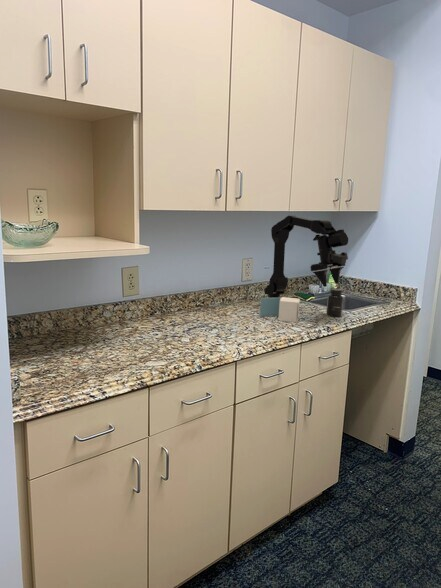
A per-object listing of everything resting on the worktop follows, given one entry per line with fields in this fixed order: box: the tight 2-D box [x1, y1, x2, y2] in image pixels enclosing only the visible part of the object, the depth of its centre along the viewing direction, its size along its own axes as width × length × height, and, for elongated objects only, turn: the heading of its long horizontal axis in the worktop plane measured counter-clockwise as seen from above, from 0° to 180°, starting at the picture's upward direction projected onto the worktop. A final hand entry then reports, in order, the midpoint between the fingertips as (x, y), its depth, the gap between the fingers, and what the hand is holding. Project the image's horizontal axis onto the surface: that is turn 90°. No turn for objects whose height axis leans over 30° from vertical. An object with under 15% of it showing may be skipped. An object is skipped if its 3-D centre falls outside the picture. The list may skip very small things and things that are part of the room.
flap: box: [259, 296, 281, 317], centre depth 200 cm, size 9×2×8 cm, turn 107°
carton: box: [278, 297, 301, 323], centre depth 196 cm, size 9×8×8 cm
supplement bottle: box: [325, 288, 344, 318], centre depth 207 cm, size 7×7×12 cm
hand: (331, 285), depth 195 cm, fingers open, 9 cm apart
